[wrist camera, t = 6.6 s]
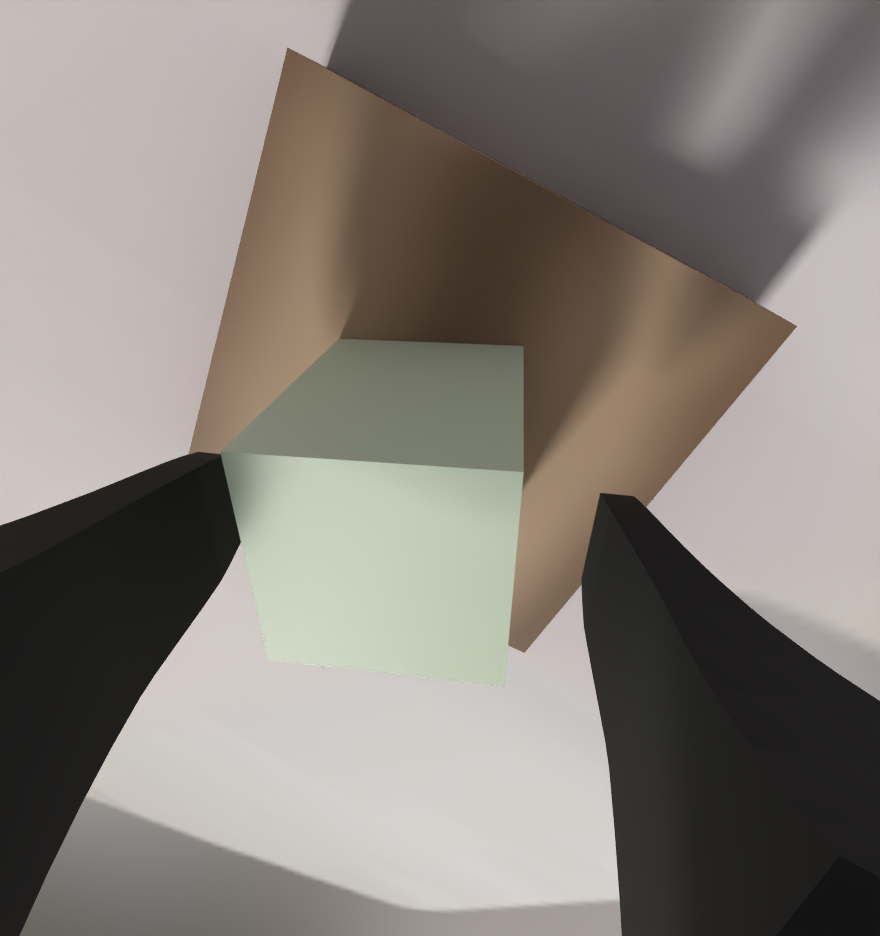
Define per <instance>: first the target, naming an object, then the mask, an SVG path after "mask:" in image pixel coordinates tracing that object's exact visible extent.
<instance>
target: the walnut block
mask: <svg viewBox="0 0 880 936" xmlns="http://www.w3.org/2000/svg"><path fill="white" fill-rule="evenodd" d="M796 327H797V326H796V325H794V324H792V323H790V322H789V321H787V320H785V319H783V318H782V317H780V316H778V315H776V314H775V313H773V312H771V311H769V310H768V309H766V308H764V307H763V306H761V305H759V304H757V303H756V302H754V301H752V300H750V299H748V298H746V297H745V296H743V295H741V294H739V293H737V292H735V291H734V290H732V289H730V288H728V287H726V286H725V285H723V284H721V283H719V282H717V281H715V280H714V279H712V278H710V277H708V276H706V275H704V274H703V273H701V272H699V271H697V270H695V269H693V268H692V267H690V266H688V265H686V264H684V263H683V262H681V261H679V260H677V259H675V258H673V257H672V256H670V255H668V254H666V253H664V252H662V251H661V250H659V249H657V248H655V247H653V246H651V245H650V244H648V243H646V242H644V241H642V240H640V239H639V238H637V237H635V236H633V235H631V234H630V233H628V232H626V231H624V230H622V229H620V228H619V227H617V226H615V225H613V224H611V223H609V222H608V221H606V220H604V219H602V218H600V217H598V216H597V215H595V214H593V213H591V212H589V211H587V210H586V209H584V208H582V207H580V206H578V205H577V204H575V203H573V202H571V201H569V200H567V199H566V198H564V197H562V196H560V195H558V194H556V193H555V192H553V191H551V190H549V189H547V188H545V187H544V186H542V185H540V184H538V183H536V182H534V181H533V180H531V179H529V178H527V177H525V176H524V175H522V174H520V173H518V172H516V171H514V170H513V169H511V168H509V167H507V166H505V165H503V164H502V163H500V162H498V161H496V160H494V159H492V158H491V157H489V156H487V155H485V154H483V153H482V152H480V151H478V150H476V149H474V148H472V147H471V146H469V145H467V144H465V143H463V142H461V141H460V140H458V139H456V138H454V137H452V136H450V135H449V134H447V133H445V132H443V131H441V130H439V129H438V128H436V127H434V126H432V125H430V124H429V123H427V122H425V121H423V120H421V119H419V118H418V117H416V116H414V115H412V114H410V113H408V112H407V111H405V110H403V109H401V108H399V107H397V106H396V105H394V104H392V103H390V102H388V101H386V100H385V99H383V98H381V97H379V96H377V95H376V94H374V93H372V92H370V91H368V90H366V89H365V88H363V87H361V86H359V85H357V84H355V83H354V82H352V81H350V80H348V79H346V78H344V77H343V76H341V75H339V74H337V73H335V72H334V71H332V70H330V69H328V68H326V67H324V66H322V65H320V64H318V63H316V62H314V61H313V60H311V59H309V58H307V57H305V56H303V55H301V54H299V53H297V52H295V51H293V50H291V49H289V48H287V52H286V56H285V60H284V64H283V68H282V73H281V77H280V81H279V85H278V89H277V93H276V97H275V101H274V105H273V110H272V114H271V118H270V122H269V126H268V130H267V134H266V138H265V142H264V147H263V151H262V155H261V159H260V163H259V167H258V171H257V175H256V180H255V184H254V188H253V192H252V196H251V200H250V204H249V208H248V212H247V217H246V221H245V225H244V229H243V233H242V237H241V241H240V245H239V249H238V254H237V258H236V262H235V266H234V270H233V274H232V278H231V282H230V286H229V291H228V295H227V299H226V303H225V307H224V311H223V315H222V319H221V324H220V328H219V332H218V336H217V340H216V344H215V348H214V352H213V356H212V361H211V365H210V369H209V373H208V377H207V381H206V385H205V389H204V393H203V398H202V402H201V406H200V410H199V414H198V418H197V422H196V426H195V430H194V435H193V439H192V443H191V447H190V451H189V454H192V453H196V452H205V453H215V454H221V453H220V452H221V451H222V450H223V449H224V448H225V447H226V446H227V445H228V444H229V443H230V442H231V441H232V440H233V439H234V438H235V437H236V436H237V435H238V434H239V433H241V432H242V431H243V430H244V429H245V428H246V427H247V426H248V425H249V424H250V423H251V422H252V421H253V420H254V419H255V418H256V417H257V416H258V415H259V414H260V413H261V412H263V411H264V410H265V409H266V408H267V407H268V406H269V405H270V404H271V403H272V402H273V401H274V400H275V399H276V398H277V397H278V396H279V395H280V394H281V393H282V392H284V391H285V390H286V389H287V388H288V387H289V386H290V385H291V384H292V383H293V382H294V381H295V380H296V379H297V378H298V377H299V376H300V375H301V374H302V373H303V372H305V371H306V370H307V369H308V368H309V367H310V366H311V365H312V364H313V363H314V362H315V361H316V360H317V359H318V358H319V357H320V356H321V355H322V354H323V353H324V352H325V351H327V350H328V349H329V348H330V347H331V346H332V345H333V344H334V343H335V342H336V341H337V340H338V339H361V340H387V341H412V342H437V343H462V344H487V345H512V346H524V474H523V485H522V496H521V507H520V519H519V530H518V541H517V552H516V563H515V574H514V586H513V597H512V608H511V619H510V630H509V641H508V645H509V646H511V647H513V648H515V649H518V650H520V651H522V652H524V653H525V651H526V650H527V649H528V648H529V647H530V645H531V644H532V643H533V642H534V641H535V639H536V638H537V637H538V636H539V635H540V633H541V632H542V631H543V630H544V629H545V627H546V626H547V625H548V624H549V623H550V621H551V620H552V619H553V618H554V617H555V615H556V614H557V613H558V612H559V611H560V609H561V608H562V607H563V606H564V605H565V603H566V602H567V601H568V600H569V599H570V597H571V596H572V595H573V594H574V593H575V591H576V590H577V589H578V588H579V587H580V586H581V584H582V582H581V578H582V573H583V569H584V564H585V560H586V555H587V551H588V546H589V541H590V537H591V532H592V528H593V523H594V519H595V514H596V510H597V505H598V500H599V496H600V493H608V494H617V495H627V496H635V497H636V498H637V499H638V500H639V501H640V502H641V503H642V504H643V505H644V506H645V507H646V506H647V505H648V504H649V503H650V502H651V500H652V499H653V498H654V497H655V496H656V495H657V493H658V492H659V491H660V490H661V489H662V487H663V486H664V485H665V484H666V483H667V481H668V480H669V479H670V478H671V477H672V475H673V474H674V473H675V472H676V471H677V469H678V468H679V467H680V466H681V465H682V463H683V462H684V461H685V460H686V459H687V457H688V456H689V455H690V454H691V453H692V451H693V450H694V449H695V448H696V447H697V445H698V444H699V443H700V442H701V441H702V439H703V438H704V437H705V436H706V435H707V433H708V432H709V431H710V430H711V429H712V427H713V426H714V425H715V424H716V423H717V421H718V420H719V419H720V418H721V417H722V415H723V414H724V413H725V412H726V411H727V409H728V408H729V407H730V406H731V405H732V404H733V402H734V401H735V400H736V399H737V398H738V396H739V395H740V394H741V393H742V392H743V390H744V389H745V388H746V387H747V386H748V384H749V383H750V382H751V381H752V380H753V378H754V377H755V376H756V375H757V374H758V372H759V371H760V370H761V369H762V368H763V366H764V365H765V364H766V363H767V362H768V360H769V359H770V358H771V357H772V356H773V354H774V353H775V352H776V351H777V350H778V348H779V347H780V346H781V345H782V344H783V342H784V341H785V340H786V339H787V338H788V336H789V335H790V334H791V333H792V332H793V330H794V329H795V328H796Z"/></svg>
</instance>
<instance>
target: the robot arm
mask: <svg viewBox="0 0 880 936" xmlns="http://www.w3.org/2000/svg"><path fill="white" fill-rule="evenodd" d="M240 543H241V540H240V536H239V532H238V527H237V523H236V518H235V514H234V510H233V505H232V501H231V497H230V492H229V488H228V484H227V479H226V475H225V470H224V466H223V462H222V457H221V454H215V453H205V452H196V453H192V454H188V455H185V456H182V457H179V458H176V459H174V460H171V461H168V462H165V463H163V464H160V465H158V466H155V467H153V468H150V469H148V470H145V471H143V472H140V473H138V474H135V475H133V476H130V477H128V478H125V479H123V480H120V481H118V482H116V483H113V484H111V485H108V486H106V487H103V488H101V489H98V490H96V491H93V492H91V493H88V494H86V495H83V496H80V497H78V498H75V499H72V500H70V501H67V502H64V503H62V504H59V505H56V506H54V507H51V508H48V509H46V510H43V511H40V512H38V513H35V514H32V515H30V516H27V517H24V518H21V519H18V520H15V521H13V522H10V523H7V524H3V525H0V936H19V935H20V933H21V931H22V929H23V927H24V924H25V922H26V920H27V917H28V915H29V913H30V911H31V909H32V906H33V904H34V902H35V900H36V898H37V895H38V893H39V891H40V889H41V886H42V884H43V882H44V879H45V877H46V875H47V873H48V871H49V869H50V867H51V865H52V863H53V861H54V859H55V857H56V855H57V853H58V851H59V849H60V847H61V845H62V843H63V840H64V838H65V836H66V834H67V832H68V830H69V828H70V826H71V824H72V822H73V820H74V818H75V816H76V814H77V812H78V810H79V808H80V806H81V804H82V802H83V800H84V798H85V796H86V794H87V793H88V791H89V789H90V787H91V785H92V783H93V781H94V779H95V778H96V776H97V774H98V772H99V770H100V768H101V766H102V764H103V762H104V761H105V759H106V757H107V755H108V753H109V751H110V749H111V747H112V746H113V744H114V742H115V740H116V739H117V737H118V735H119V733H120V732H121V730H122V728H123V726H124V725H125V723H126V721H127V719H128V718H129V716H130V714H131V712H132V711H133V709H134V707H135V705H136V704H137V702H138V700H139V698H140V697H141V695H142V694H143V692H144V691H145V689H146V688H147V686H148V684H149V683H150V681H151V680H152V678H153V677H154V675H155V674H156V672H157V671H158V670H159V668H160V667H161V665H162V664H163V663H164V661H165V660H166V658H167V657H168V656H169V654H170V653H171V651H172V650H173V649H174V647H175V646H176V644H177V643H178V642H179V640H180V639H181V637H182V636H183V635H184V633H185V632H186V630H187V629H188V628H189V626H190V625H191V623H192V622H193V621H194V619H195V618H196V616H197V615H198V614H199V612H200V611H201V609H202V608H203V606H204V605H205V603H206V602H207V601H208V599H209V598H210V596H211V595H212V593H213V592H214V591H215V589H216V588H217V586H218V585H219V583H220V582H221V580H222V578H223V576H224V575H225V573H226V571H227V569H228V567H229V565H230V563H231V561H232V559H233V557H234V555H235V553H236V551H237V549H238V547H239V545H240ZM581 582H582V604H583V620H584V630H585V635H586V641H587V646H588V652H589V657H590V663H591V668H592V673H593V679H594V684H595V689H596V694H597V700H598V705H599V710H600V716H601V721H602V726H603V731H604V737H605V742H606V749H607V756H608V763H609V771H610V782H611V794H612V805H613V816H614V828H615V841H616V854H617V868H618V882H619V895H620V909H621V910H620V911H621V928H622V936H880V701H879V700H877V699H876V698H874V697H873V696H871V695H870V694H868V693H867V692H865V691H864V690H862V689H861V688H859V687H858V686H856V685H854V684H853V683H851V682H850V681H848V680H847V679H845V678H844V677H842V676H841V675H839V674H838V673H836V672H835V671H833V670H832V669H831V668H829V667H828V666H826V665H825V664H824V663H822V662H821V661H819V660H818V659H816V658H815V657H814V656H812V655H811V654H809V653H808V652H807V651H805V650H804V649H803V648H801V647H800V646H799V645H797V644H796V643H795V642H793V641H792V640H791V639H790V638H788V637H787V636H786V635H784V634H783V633H781V632H780V631H779V630H778V629H776V628H775V627H774V626H772V625H771V624H770V623H769V622H767V621H766V620H765V619H764V618H762V617H761V616H760V615H759V614H757V613H756V612H755V611H754V610H753V609H751V608H750V607H749V606H748V605H747V604H746V603H744V602H743V601H742V600H741V599H740V598H739V597H738V596H736V595H735V594H734V593H733V592H732V591H731V590H730V589H728V588H727V587H726V586H725V585H724V584H723V583H722V582H720V581H719V580H718V579H717V578H716V577H715V576H714V575H713V574H712V573H711V572H710V571H709V570H708V569H706V568H705V567H704V566H703V565H702V564H701V563H700V562H699V561H698V560H697V559H696V558H695V557H694V556H693V555H692V554H691V553H690V552H689V551H688V550H687V549H686V548H685V547H684V546H683V545H682V544H681V543H680V542H679V541H678V540H677V539H676V538H675V537H674V536H673V535H672V534H671V533H670V532H669V531H668V530H667V529H666V528H665V527H664V526H663V525H662V524H661V523H660V521H659V520H658V519H657V518H656V517H655V516H654V515H653V514H652V513H651V512H650V511H649V510H648V509H647V508H646V507H645V506H644V505H643V504H642V503H641V502H640V501H639V500H638V499H637V498H636V497H635V496H627V495H617V494H608V493H600V496H599V500H598V505H597V510H596V514H595V519H594V523H593V528H592V532H591V537H590V541H589V546H588V551H587V555H586V560H585V564H584V569H583V573H582V578H581Z"/></svg>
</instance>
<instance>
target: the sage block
mask: <svg viewBox="0 0 880 936" xmlns="http://www.w3.org/2000/svg"><path fill="white" fill-rule="evenodd" d="M220 453H221V457H222V462H223V466H224V470H225V475H226V479H227V484H228V488H229V492H230V497H231V501H232V505H233V510H234V514H235V518H236V523H237V527H238V532H239V536H240V540H241V545H242V549H243V553H244V558H245V562H246V566H247V571H248V575H249V580H250V584H251V588H252V593H253V597H254V601H255V606H256V610H257V615H258V619H259V623H260V628H261V632H262V636H263V641H264V645H265V649H266V654H267V658H268V660H273V661H282V662H291V663H300V664H309V665H317V666H326V667H335V668H344V669H353V670H361V671H370V672H379V673H388V674H397V675H405V676H414V677H423V678H432V679H441V680H449V681H458V682H467V683H476V684H485V685H493V686H502V687H504V686H505V675H506V664H507V653H508V641H509V630H510V619H511V608H512V597H513V586H514V574H515V563H516V552H517V541H518V530H519V519H520V507H521V496H522V485H523V474H524V346H512V345H487V344H462V343H437V342H412V341H387V340H361V339H338V340H337V341H336V342H335V343H334V344H333V345H332V346H331V347H330V348H329V349H328V350H327V351H325V352H324V353H323V354H322V355H321V356H320V357H319V358H318V359H317V360H316V361H315V362H314V363H313V364H312V365H311V366H310V367H309V368H308V369H307V370H306V371H305V372H303V373H302V374H301V375H300V376H299V377H298V378H297V379H296V380H295V381H294V382H293V383H292V384H291V385H290V386H289V387H288V388H287V389H286V390H285V391H284V392H282V393H281V394H280V395H279V396H278V397H277V398H276V399H275V400H274V401H273V402H272V403H271V404H270V405H269V406H268V407H267V408H266V409H265V410H264V411H263V412H261V413H260V414H259V415H258V416H257V417H256V418H255V419H254V420H253V421H252V422H251V423H250V424H249V425H248V426H247V427H246V428H245V429H244V430H243V431H242V432H241V433H239V434H238V435H237V436H236V437H235V438H234V439H233V440H232V441H231V442H230V443H229V444H228V445H227V446H226V447H225V448H224V449H223V450H222V451H221V452H220Z"/></svg>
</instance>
